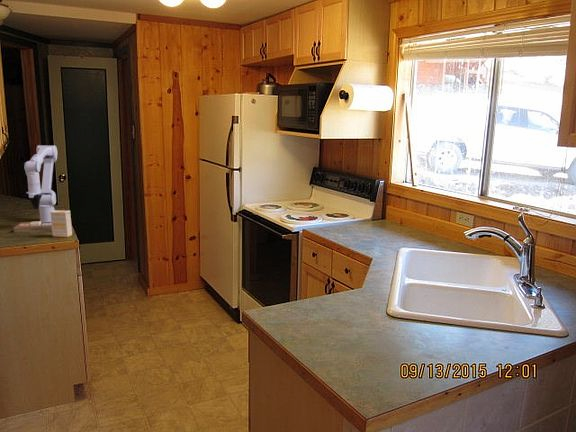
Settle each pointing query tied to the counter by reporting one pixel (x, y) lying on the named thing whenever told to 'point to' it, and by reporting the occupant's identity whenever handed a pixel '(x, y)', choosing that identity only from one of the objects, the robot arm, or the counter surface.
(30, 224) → the cream key
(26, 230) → the key panel
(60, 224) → the supplement box
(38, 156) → the robot arm
